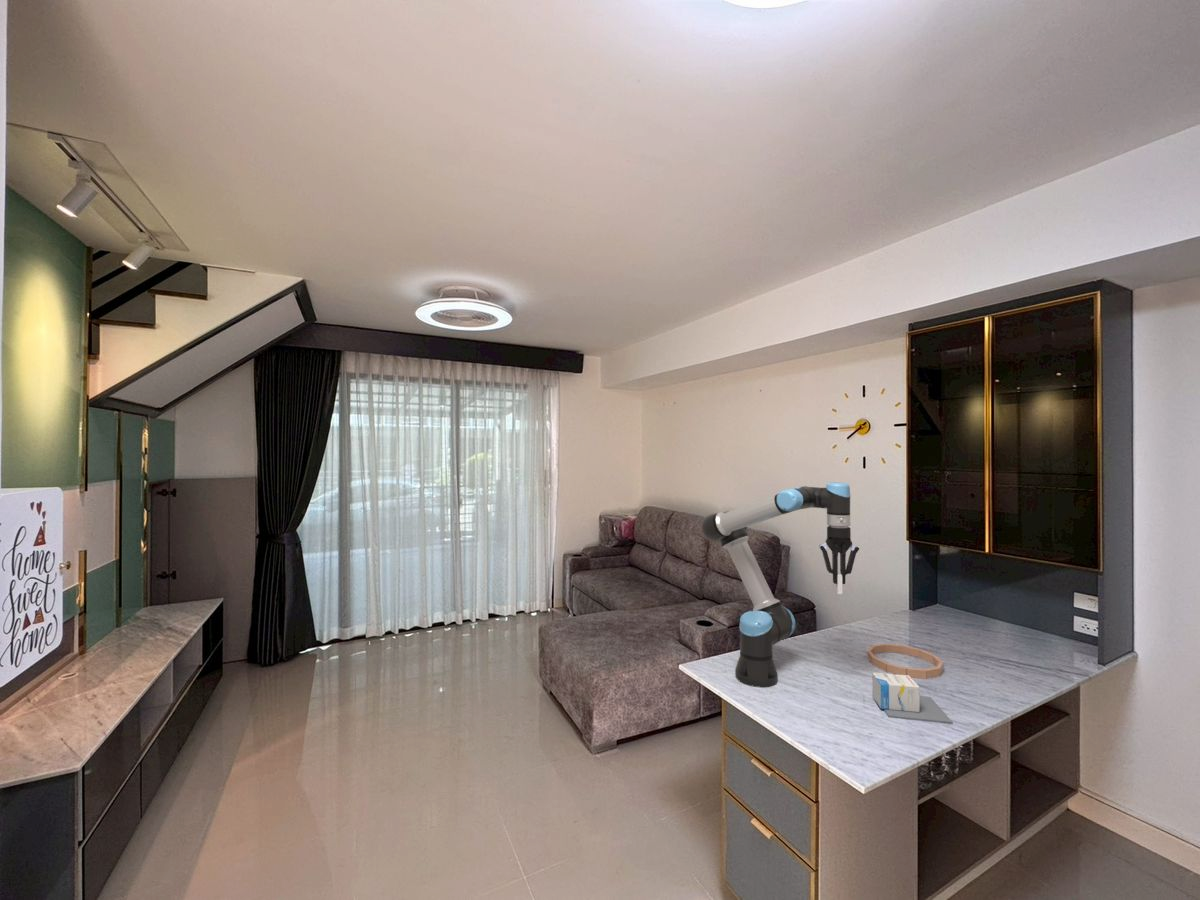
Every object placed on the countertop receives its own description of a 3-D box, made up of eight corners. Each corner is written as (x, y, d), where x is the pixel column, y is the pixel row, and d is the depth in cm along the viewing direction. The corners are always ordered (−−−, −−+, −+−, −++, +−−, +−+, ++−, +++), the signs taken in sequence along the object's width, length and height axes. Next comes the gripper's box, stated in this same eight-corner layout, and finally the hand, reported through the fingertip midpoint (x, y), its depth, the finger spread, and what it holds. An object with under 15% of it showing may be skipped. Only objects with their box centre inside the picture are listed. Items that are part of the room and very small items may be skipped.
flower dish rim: (879, 675, 186) (879, 667, 186) (860, 649, 211) (860, 642, 211) (954, 681, 181) (954, 673, 181) (925, 653, 205) (925, 646, 205)
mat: (888, 717, 157) (888, 715, 157) (872, 693, 173) (872, 691, 173) (952, 723, 153) (952, 722, 153) (930, 698, 169) (930, 696, 169)
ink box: (880, 709, 161) (920, 713, 158) (880, 683, 161) (920, 687, 158) (872, 696, 169) (910, 699, 167) (871, 671, 169) (910, 674, 167)
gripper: (821, 527, 173) (821, 595, 173) (861, 528, 170) (862, 597, 170) (816, 524, 180) (817, 589, 180) (855, 525, 177) (856, 591, 177)
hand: (839, 592), depth 175 cm, fingers closed
